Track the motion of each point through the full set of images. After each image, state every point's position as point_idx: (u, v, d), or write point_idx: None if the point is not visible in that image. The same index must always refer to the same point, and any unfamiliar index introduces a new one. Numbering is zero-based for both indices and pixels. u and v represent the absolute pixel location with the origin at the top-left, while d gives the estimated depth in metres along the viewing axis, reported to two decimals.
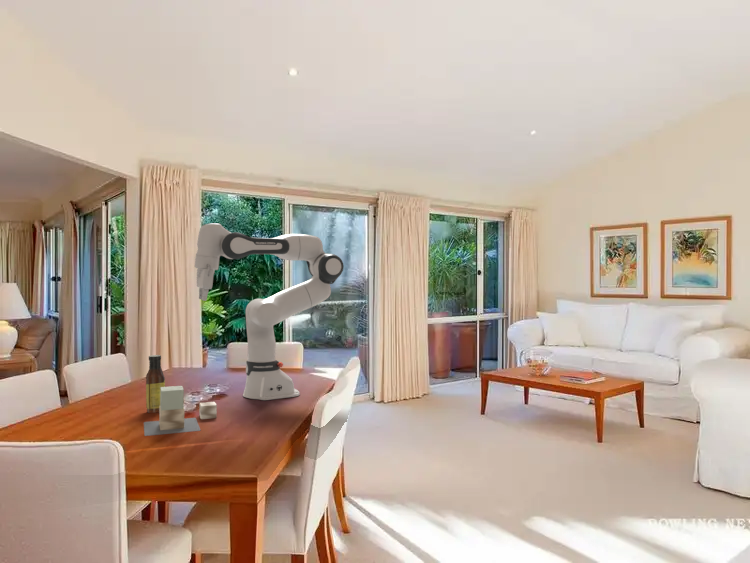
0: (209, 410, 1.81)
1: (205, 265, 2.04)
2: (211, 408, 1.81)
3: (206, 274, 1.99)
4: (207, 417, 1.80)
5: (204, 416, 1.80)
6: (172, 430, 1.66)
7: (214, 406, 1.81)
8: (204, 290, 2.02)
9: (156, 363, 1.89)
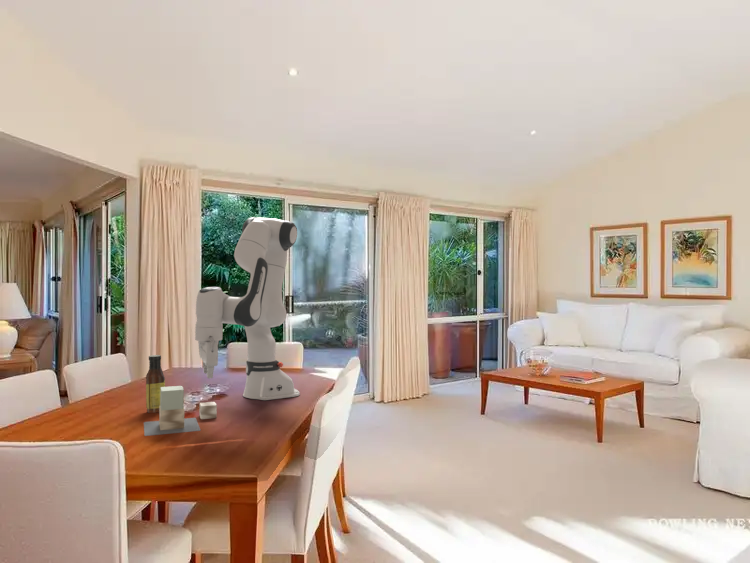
0: (209, 410, 1.81)
1: (207, 337, 1.78)
2: (211, 408, 1.81)
3: (209, 350, 1.73)
4: (207, 417, 1.80)
5: (204, 416, 1.80)
6: (172, 430, 1.66)
7: (214, 406, 1.81)
8: (209, 367, 1.76)
9: (156, 363, 1.89)
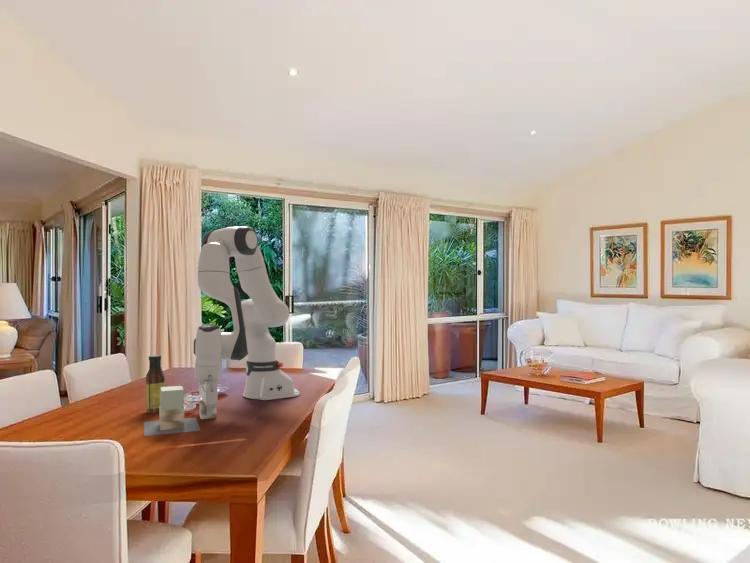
0: None
1: (207, 376, 1.78)
2: None
3: (209, 390, 1.74)
4: (207, 417, 1.80)
5: (204, 416, 1.80)
6: (172, 430, 1.66)
7: (214, 406, 1.81)
8: (208, 405, 1.78)
9: (156, 363, 1.89)
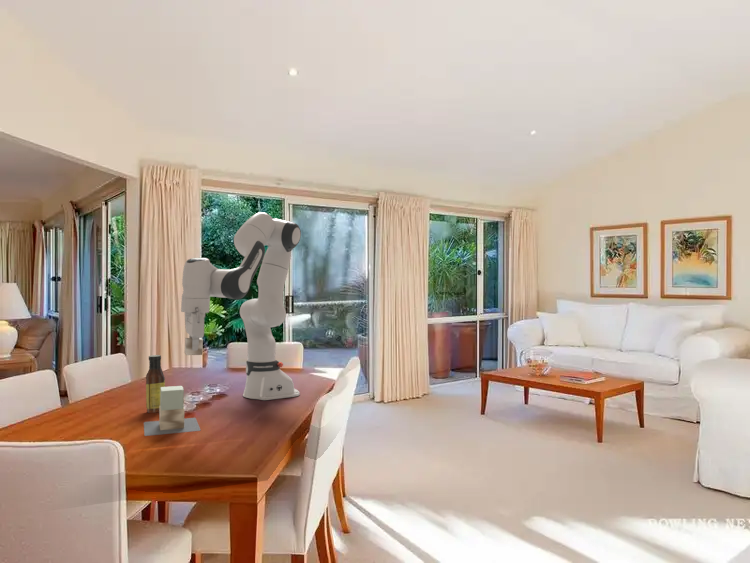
0: None
1: (193, 309, 1.73)
2: None
3: (195, 321, 1.68)
4: (192, 351, 1.74)
5: (189, 350, 1.74)
6: (172, 430, 1.66)
7: (200, 340, 1.75)
8: (194, 338, 1.72)
9: (156, 363, 1.89)
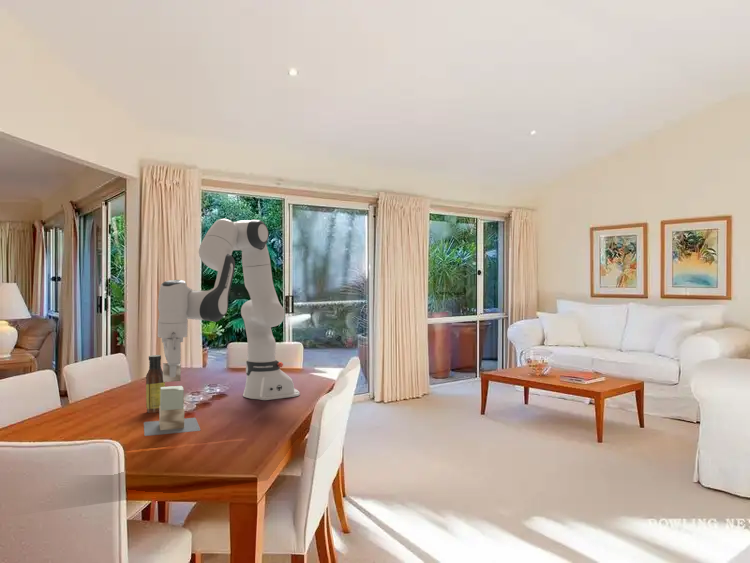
0: None
1: (170, 334, 1.66)
2: None
3: (171, 347, 1.61)
4: (170, 378, 1.68)
5: (167, 377, 1.68)
6: (172, 430, 1.66)
7: (178, 366, 1.69)
8: (171, 365, 1.66)
9: (156, 363, 1.89)
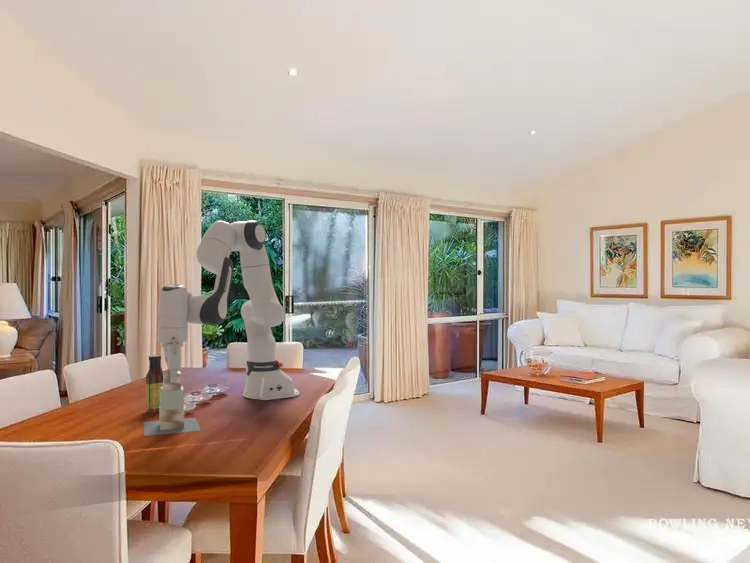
0: None
1: (170, 339, 1.66)
2: None
3: (171, 352, 1.61)
4: (171, 386, 1.68)
5: (167, 386, 1.68)
6: (172, 430, 1.66)
7: (178, 375, 1.69)
8: (172, 370, 1.65)
9: (156, 363, 1.89)
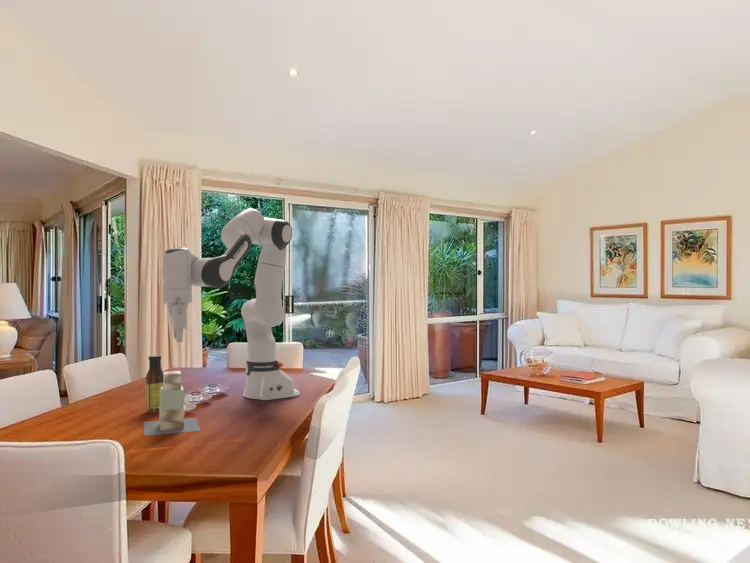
0: (173, 379, 1.68)
1: (175, 300, 1.70)
2: (175, 377, 1.69)
3: (177, 312, 1.65)
4: (171, 386, 1.68)
5: (167, 386, 1.68)
6: (172, 430, 1.66)
7: (178, 375, 1.69)
8: (178, 330, 1.68)
9: (156, 363, 1.89)
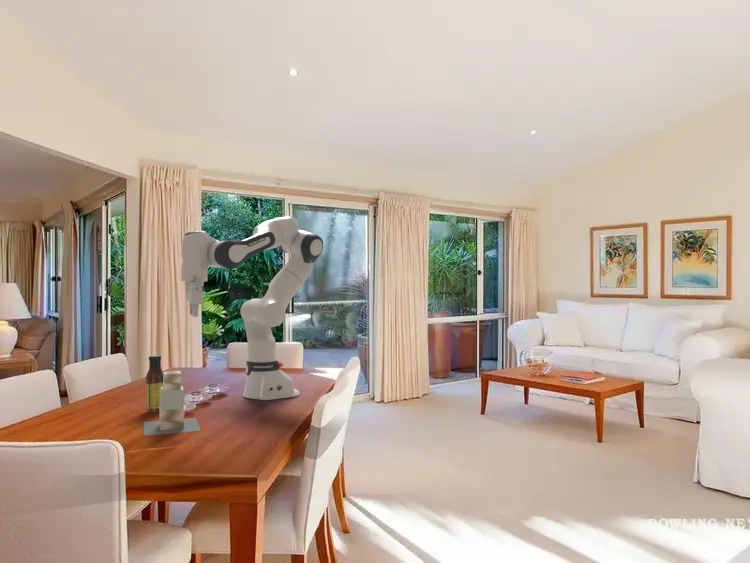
0: (173, 379, 1.68)
1: (192, 278, 1.85)
2: (175, 377, 1.69)
3: (194, 288, 1.81)
4: (171, 386, 1.68)
5: (167, 386, 1.68)
6: (172, 430, 1.66)
7: (178, 375, 1.69)
8: (194, 305, 1.84)
9: (156, 363, 1.89)
